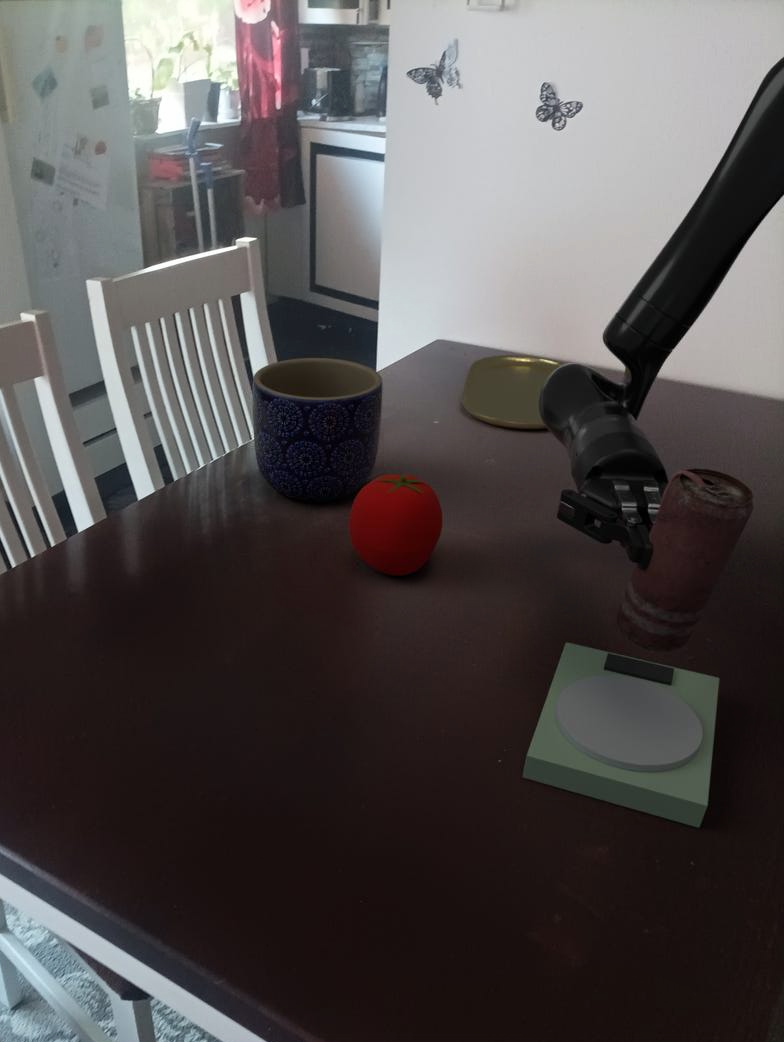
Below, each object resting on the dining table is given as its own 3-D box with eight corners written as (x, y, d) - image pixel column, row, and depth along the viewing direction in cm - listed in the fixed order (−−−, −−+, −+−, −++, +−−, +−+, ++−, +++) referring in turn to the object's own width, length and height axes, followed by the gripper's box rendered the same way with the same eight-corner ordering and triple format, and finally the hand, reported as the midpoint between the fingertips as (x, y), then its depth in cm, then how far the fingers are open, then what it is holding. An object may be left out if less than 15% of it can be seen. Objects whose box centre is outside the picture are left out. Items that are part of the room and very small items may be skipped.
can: (622, 598, 79) (682, 455, 70) (694, 627, 77) (765, 484, 68) (601, 632, 75) (661, 484, 66) (676, 664, 72) (749, 516, 64)
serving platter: (454, 426, 140) (455, 416, 140) (473, 359, 168) (474, 351, 168) (577, 438, 137) (579, 428, 136) (576, 368, 165) (578, 359, 164)
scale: (561, 662, 89) (567, 635, 87) (712, 699, 84) (722, 670, 82) (522, 777, 75) (528, 747, 73) (699, 828, 71) (710, 798, 69)
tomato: (358, 591, 99) (363, 502, 93) (340, 546, 108) (343, 462, 102) (450, 584, 101) (460, 496, 95) (425, 540, 109) (433, 457, 103)
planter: (330, 452, 131) (334, 350, 123) (401, 494, 120) (410, 384, 112) (232, 477, 124) (228, 369, 115) (297, 524, 112) (298, 408, 104)
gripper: (549, 426, 82) (576, 511, 68) (698, 433, 81) (757, 521, 67) (536, 501, 87) (559, 595, 73) (678, 508, 86) (729, 605, 72)
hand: (654, 559), depth 70 cm, fingers closed
